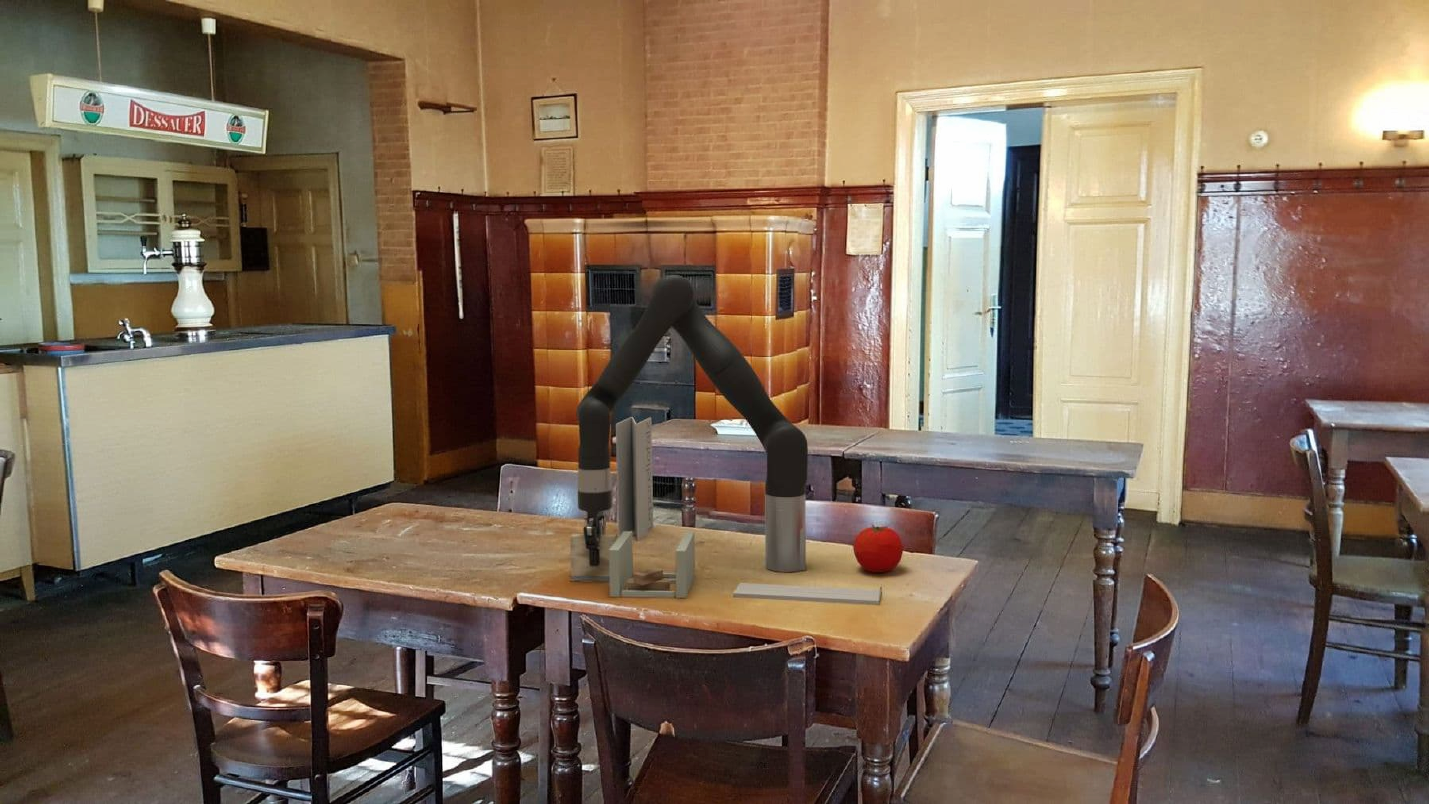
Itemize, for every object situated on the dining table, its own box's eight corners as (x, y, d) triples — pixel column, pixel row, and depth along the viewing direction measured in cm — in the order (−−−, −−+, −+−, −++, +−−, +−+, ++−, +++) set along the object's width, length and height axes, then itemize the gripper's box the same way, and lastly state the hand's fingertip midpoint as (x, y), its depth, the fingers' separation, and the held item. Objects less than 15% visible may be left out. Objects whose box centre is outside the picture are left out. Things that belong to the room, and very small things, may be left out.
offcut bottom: (669, 591, 222) (669, 577, 222) (670, 595, 219) (669, 581, 219) (627, 592, 221) (627, 578, 221) (627, 596, 218) (626, 583, 218)
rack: (694, 575, 232) (694, 532, 231) (685, 598, 216) (685, 551, 215) (624, 574, 234) (623, 531, 233) (610, 596, 217) (609, 549, 216)
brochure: (638, 540, 265) (636, 424, 261) (618, 539, 266) (615, 424, 262) (653, 528, 279) (651, 417, 275) (633, 527, 280) (631, 416, 276)
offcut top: (653, 576, 223) (653, 567, 222) (663, 578, 221) (662, 569, 221) (633, 582, 218) (633, 573, 218) (642, 585, 216) (642, 575, 216)
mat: (622, 571, 237) (622, 569, 237) (614, 582, 228) (614, 580, 228) (579, 570, 238) (579, 568, 238) (570, 581, 229) (570, 579, 229)
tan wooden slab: (617, 573, 233) (616, 534, 232) (615, 576, 231) (614, 536, 230) (573, 572, 234) (572, 533, 233) (571, 575, 232) (570, 536, 231)
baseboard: (742, 585, 226) (733, 599, 217) (742, 573, 226) (733, 586, 216) (882, 593, 220) (879, 607, 210) (882, 580, 219) (879, 594, 210)
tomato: (910, 566, 238) (911, 522, 237) (891, 580, 227) (892, 534, 226) (864, 560, 244) (865, 517, 243) (844, 573, 233) (844, 529, 232)
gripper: (605, 494, 223) (606, 572, 225) (617, 482, 237) (618, 556, 239) (570, 493, 224) (572, 571, 226) (584, 481, 238) (586, 555, 240)
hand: (596, 563), depth 232 cm, fingers closed on tan wooden slab, 2 cm apart
